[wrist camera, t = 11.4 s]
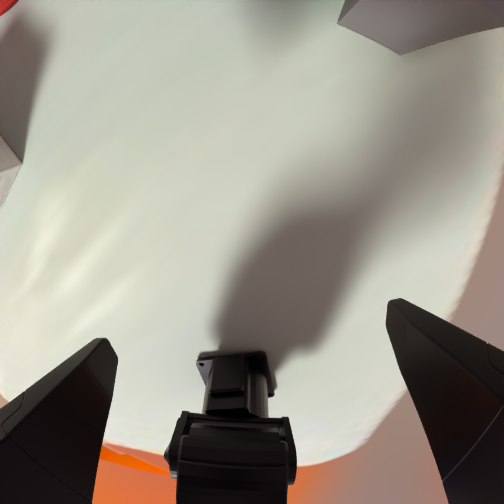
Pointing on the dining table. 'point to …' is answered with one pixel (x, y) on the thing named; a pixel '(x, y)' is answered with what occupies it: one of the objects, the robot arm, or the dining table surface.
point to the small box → (7, 169)
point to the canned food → (6, 5)
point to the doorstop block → (419, 20)
